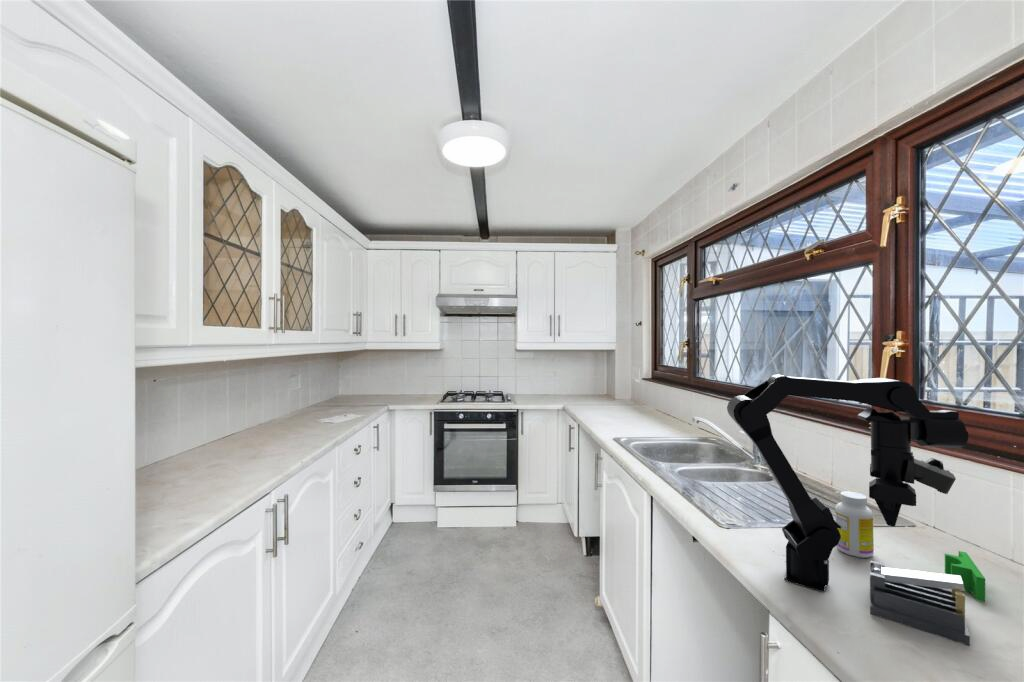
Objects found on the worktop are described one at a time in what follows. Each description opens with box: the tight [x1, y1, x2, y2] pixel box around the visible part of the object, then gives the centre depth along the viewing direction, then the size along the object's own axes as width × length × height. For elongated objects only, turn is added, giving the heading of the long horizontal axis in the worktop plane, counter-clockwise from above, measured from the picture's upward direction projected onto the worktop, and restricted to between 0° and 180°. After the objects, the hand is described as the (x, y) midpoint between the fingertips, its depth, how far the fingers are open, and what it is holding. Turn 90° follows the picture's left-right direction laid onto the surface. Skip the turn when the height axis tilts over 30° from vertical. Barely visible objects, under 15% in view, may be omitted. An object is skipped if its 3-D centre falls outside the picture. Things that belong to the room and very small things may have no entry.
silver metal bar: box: [870, 564, 966, 592], centre depth 74 cm, size 12×4×2 cm, turn 49°
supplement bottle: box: [834, 490, 875, 559], centre depth 96 cm, size 7×7×13 cm
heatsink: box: [869, 560, 971, 646], centre depth 74 cm, size 12×10×7 cm
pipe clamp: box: [944, 550, 986, 603], centre depth 83 cm, size 11×4×5 cm, turn 145°
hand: (891, 525), depth 81 cm, fingers closed
